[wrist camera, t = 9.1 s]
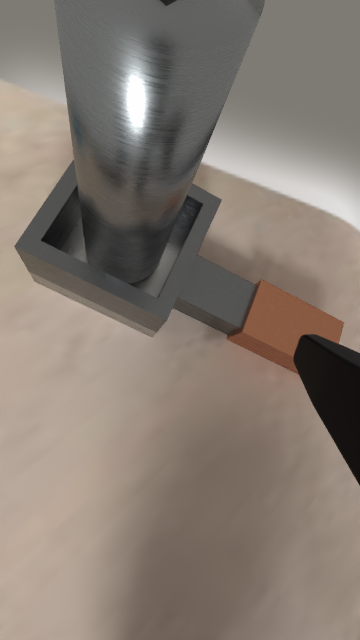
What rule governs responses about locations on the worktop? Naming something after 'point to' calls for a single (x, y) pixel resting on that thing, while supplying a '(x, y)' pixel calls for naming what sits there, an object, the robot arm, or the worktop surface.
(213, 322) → the saucepan
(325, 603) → the worktop surface
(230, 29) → the cylinder with cube top
